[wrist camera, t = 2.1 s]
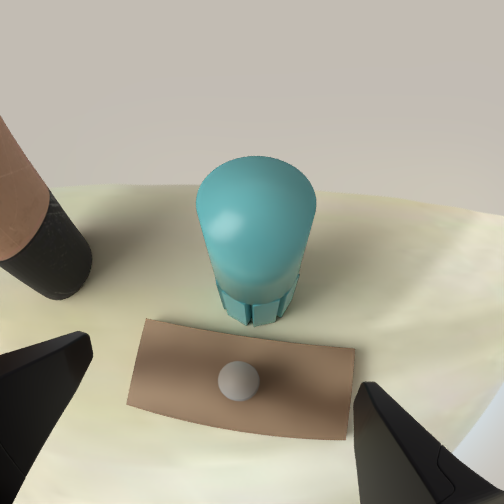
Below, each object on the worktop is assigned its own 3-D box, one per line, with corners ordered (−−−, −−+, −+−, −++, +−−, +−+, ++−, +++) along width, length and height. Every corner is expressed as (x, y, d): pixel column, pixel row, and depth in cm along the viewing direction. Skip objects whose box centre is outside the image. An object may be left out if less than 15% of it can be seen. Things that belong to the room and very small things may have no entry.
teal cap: (229, 332, 23) (205, 263, 12) (215, 268, 26) (189, 167, 15) (299, 315, 24) (333, 235, 13) (280, 254, 26) (294, 149, 16)
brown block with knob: (340, 438, 19) (359, 444, 15) (132, 404, 20) (107, 402, 16) (350, 351, 22) (369, 339, 18) (150, 322, 23) (131, 304, 19)
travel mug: (36, 247, 27) (-74, 113, 9) (92, 224, 28) (-5, 58, 11) (35, 311, 23) (-116, 186, 6) (98, 290, 25) (-52, 119, 7)
